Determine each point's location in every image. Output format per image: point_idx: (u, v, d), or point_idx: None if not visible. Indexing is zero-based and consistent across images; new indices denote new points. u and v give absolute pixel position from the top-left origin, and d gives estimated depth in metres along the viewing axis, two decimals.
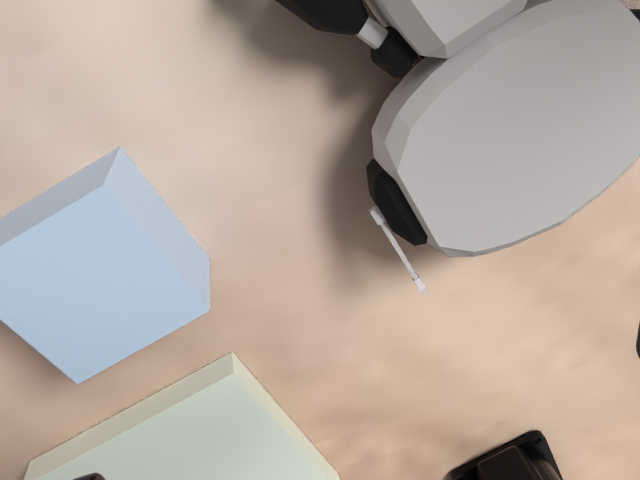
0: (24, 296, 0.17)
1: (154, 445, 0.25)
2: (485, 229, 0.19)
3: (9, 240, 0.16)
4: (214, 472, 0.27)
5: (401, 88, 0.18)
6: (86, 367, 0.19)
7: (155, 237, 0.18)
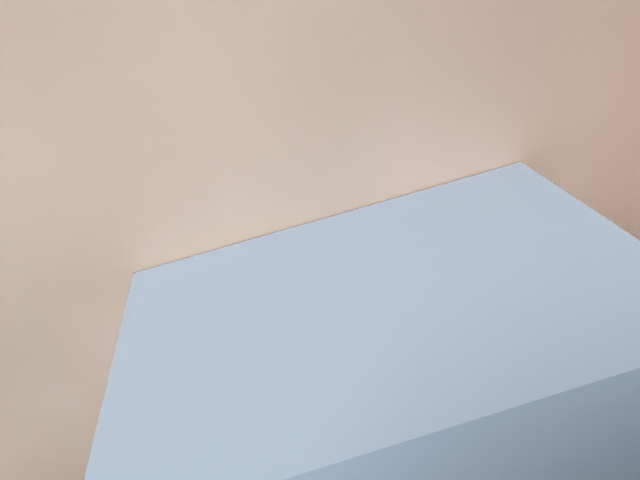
0: None
1: None
2: None
3: None
4: None
5: None
6: None
7: (368, 401, 0.05)
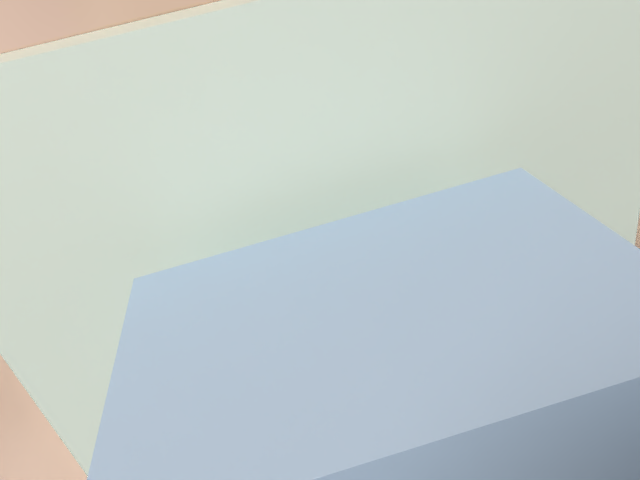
0: None
1: None
2: None
3: None
4: None
5: None
6: None
7: (369, 410, 0.05)
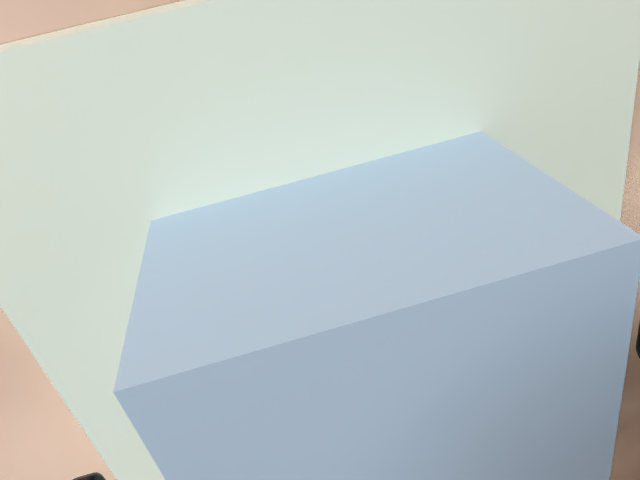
0: None
1: None
2: None
3: None
4: None
5: None
6: None
7: (342, 296, 0.06)
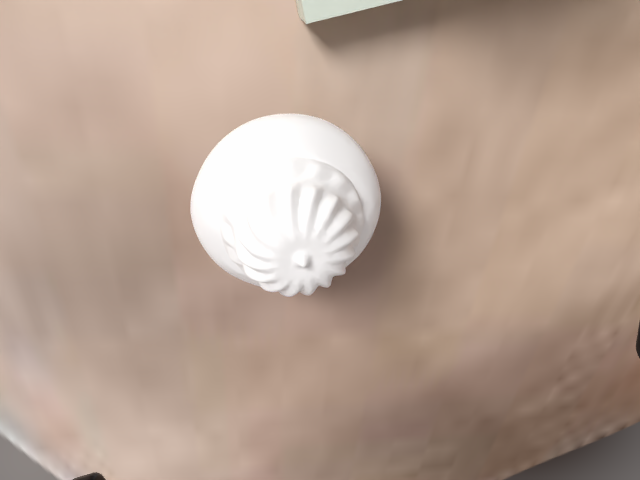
0: None
1: None
2: None
3: None
4: None
5: None
6: None
7: None
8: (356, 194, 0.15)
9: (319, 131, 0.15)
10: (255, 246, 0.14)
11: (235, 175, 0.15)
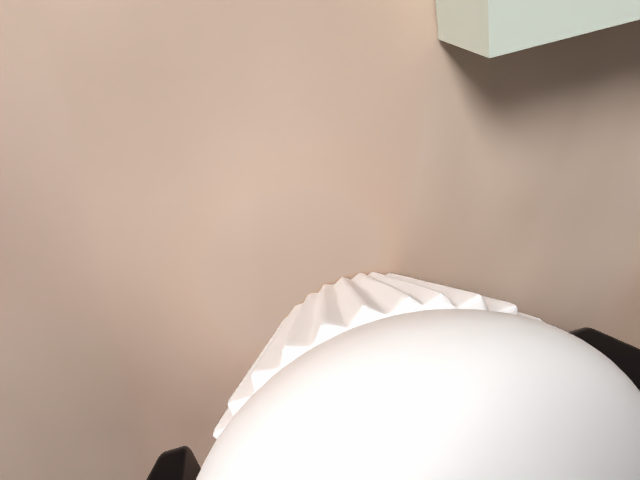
0: None
1: None
2: None
3: None
4: None
5: None
6: None
7: None
8: None
9: (569, 389, 0.05)
10: None
11: None
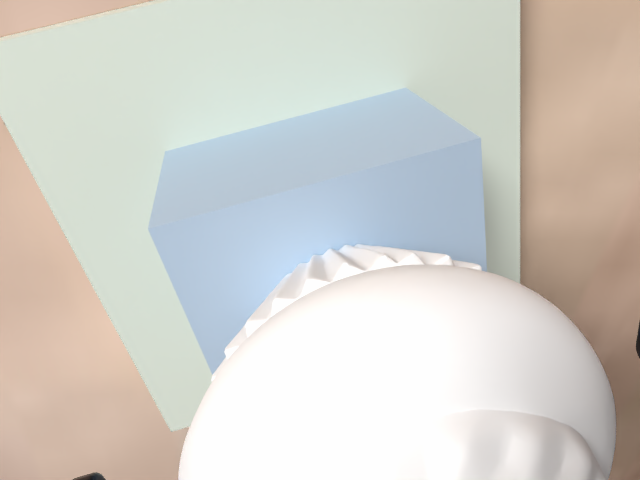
0: None
1: (147, 253, 0.13)
2: None
3: None
4: None
5: None
6: None
7: (291, 177, 0.09)
8: (604, 478, 0.06)
9: (517, 325, 0.06)
10: None
11: (302, 461, 0.05)
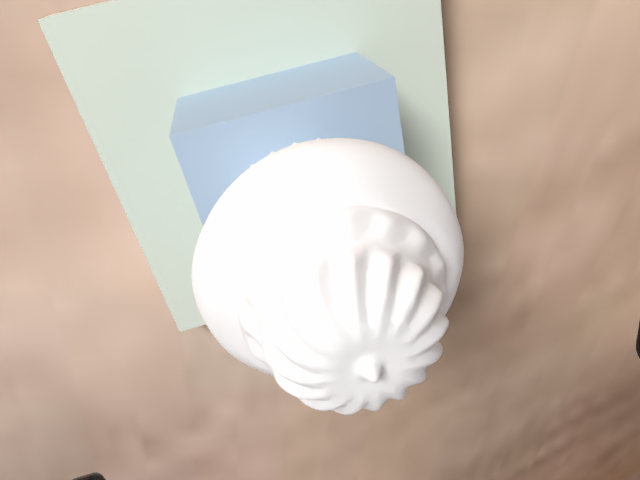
0: None
1: (163, 178, 0.18)
2: None
3: None
4: None
5: None
6: None
7: (266, 104, 0.14)
8: (440, 258, 0.10)
9: (386, 165, 0.10)
10: (297, 349, 0.09)
11: (262, 233, 0.10)
